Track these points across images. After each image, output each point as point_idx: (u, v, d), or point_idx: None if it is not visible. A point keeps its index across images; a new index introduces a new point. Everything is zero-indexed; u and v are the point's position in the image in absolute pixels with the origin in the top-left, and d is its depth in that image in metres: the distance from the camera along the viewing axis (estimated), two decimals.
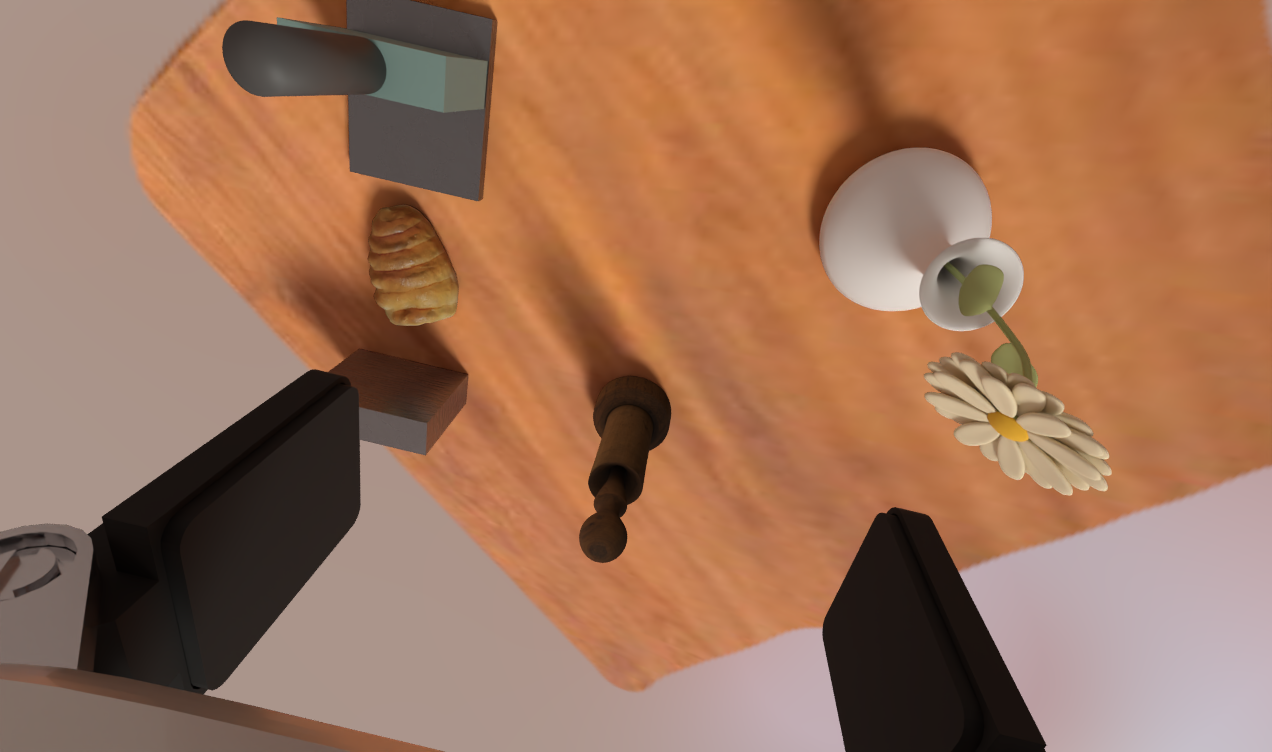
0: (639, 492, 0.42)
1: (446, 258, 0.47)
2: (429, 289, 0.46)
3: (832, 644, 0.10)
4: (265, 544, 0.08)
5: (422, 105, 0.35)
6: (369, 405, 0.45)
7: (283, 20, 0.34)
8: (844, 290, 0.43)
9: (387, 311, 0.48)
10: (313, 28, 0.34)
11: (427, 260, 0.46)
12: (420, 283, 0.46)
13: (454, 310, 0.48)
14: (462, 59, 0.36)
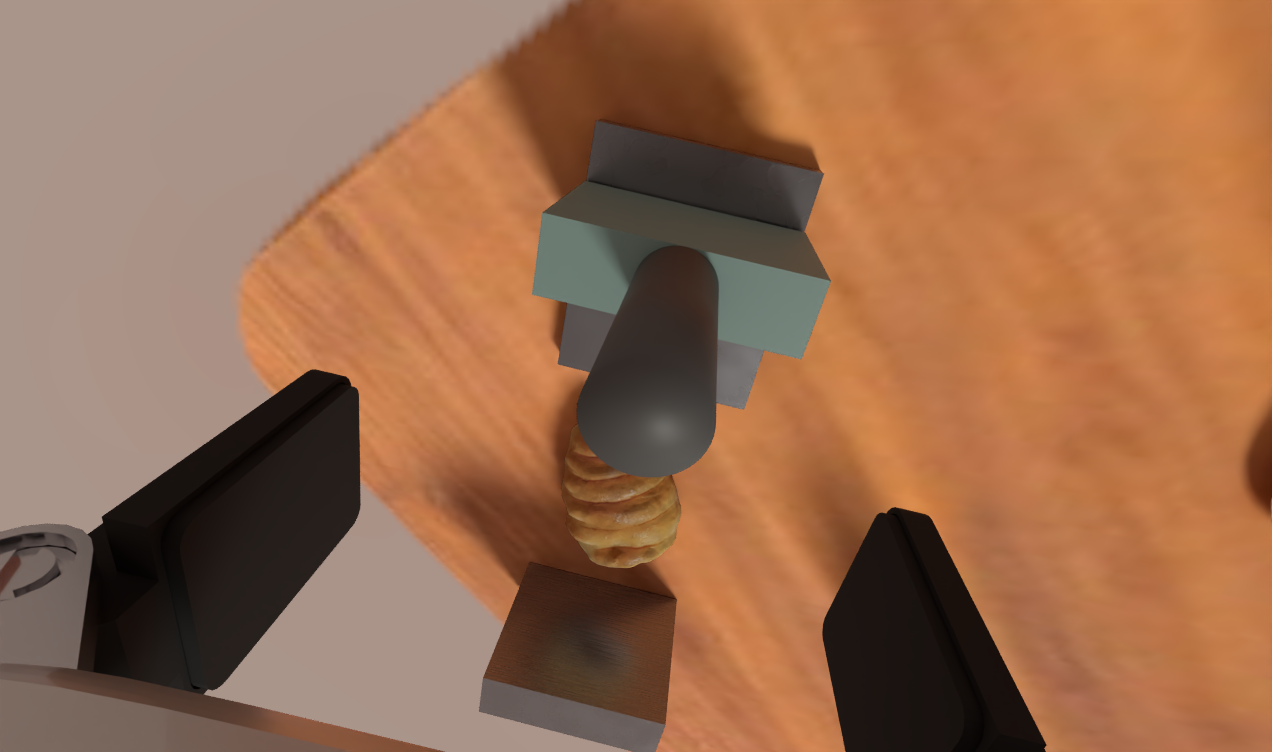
0: None
1: (671, 475, 0.33)
2: (652, 523, 0.33)
3: (832, 644, 0.10)
4: (265, 544, 0.08)
5: (767, 347, 0.21)
6: (579, 692, 0.32)
7: (553, 217, 0.20)
8: None
9: (584, 544, 0.34)
10: (603, 231, 0.20)
11: (651, 486, 0.32)
12: (641, 518, 0.32)
13: (674, 538, 0.35)
14: (819, 262, 0.22)
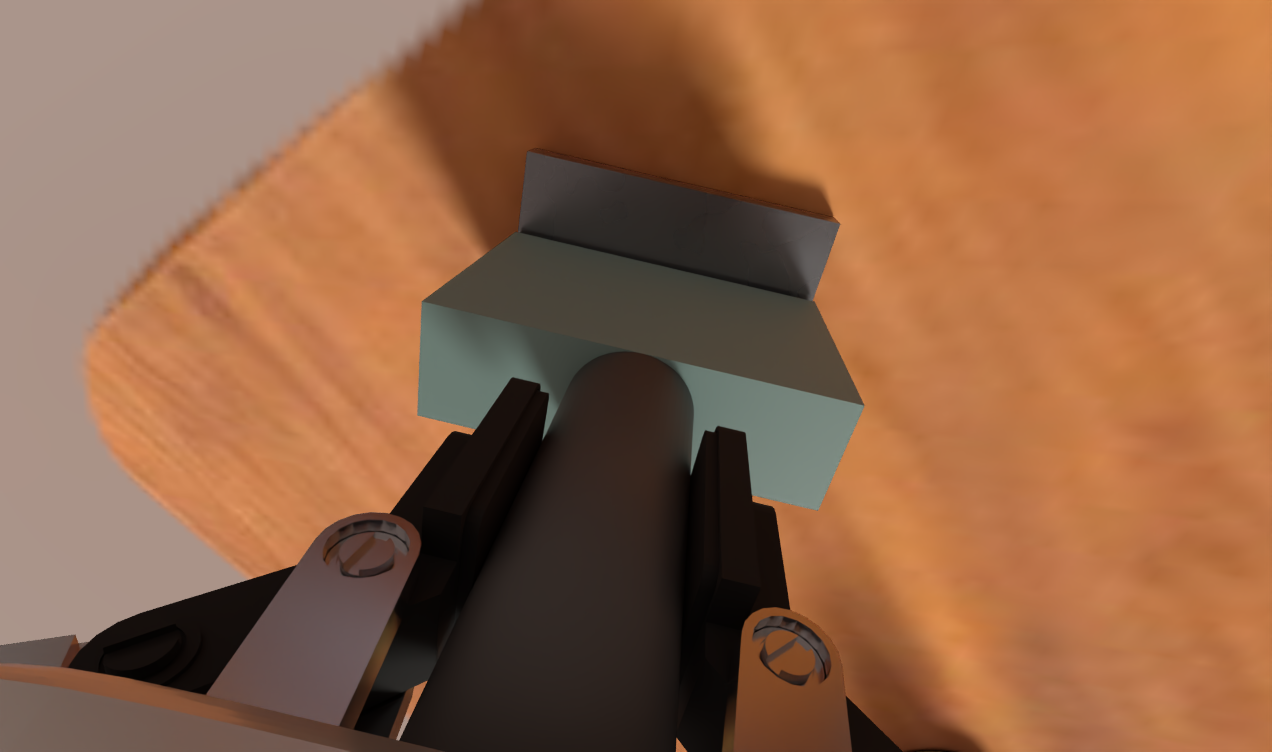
0: None
1: None
2: None
3: None
4: None
5: (767, 493, 0.14)
6: None
7: (438, 308, 0.13)
8: None
9: None
10: (516, 329, 0.13)
11: None
12: None
13: None
14: None
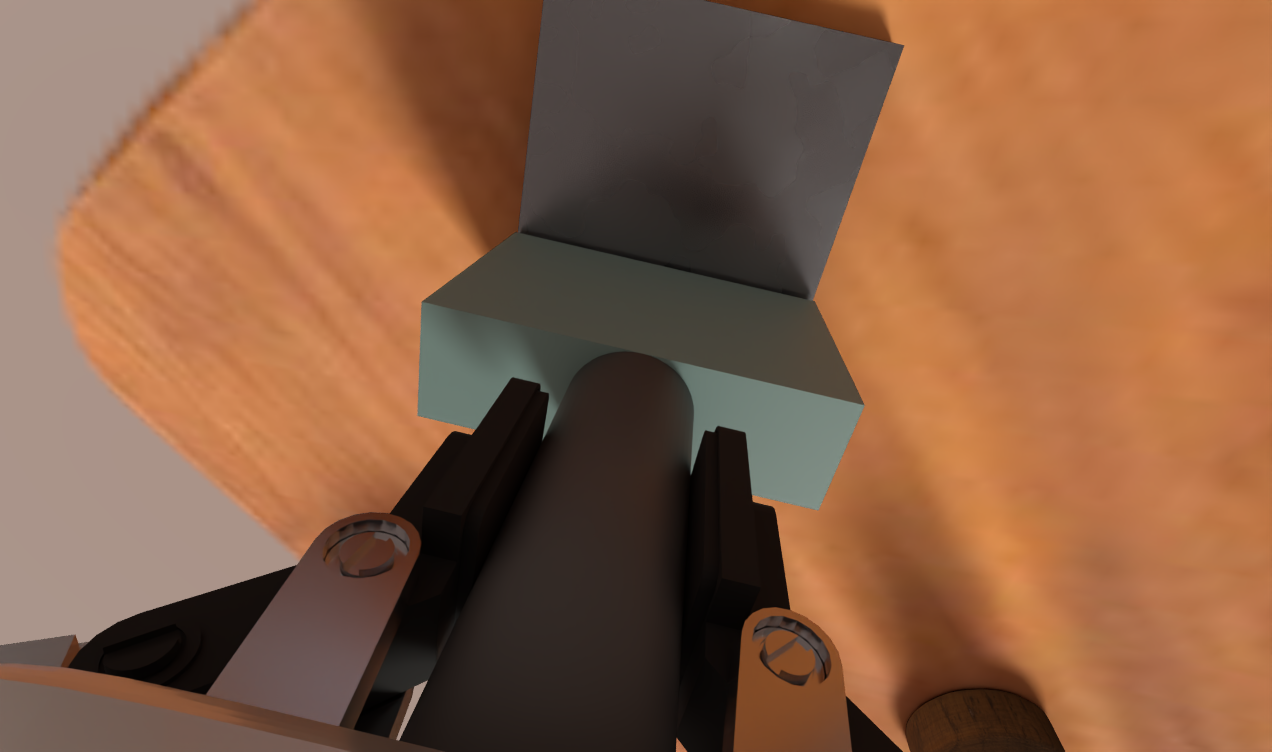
0: None
1: None
2: None
3: None
4: None
5: (768, 493, 0.14)
6: None
7: (438, 309, 0.13)
8: None
9: None
10: (516, 329, 0.13)
11: None
12: None
13: None
14: None
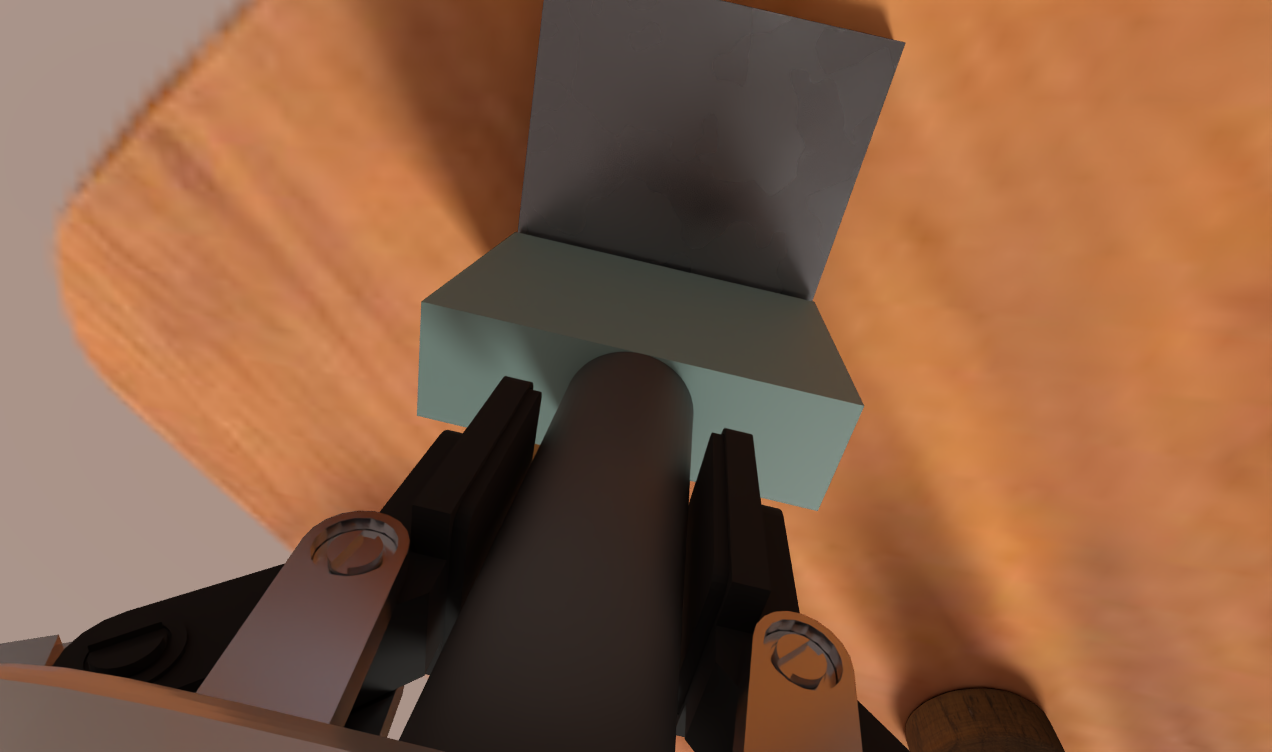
0: None
1: None
2: None
3: None
4: (492, 531, 0.09)
5: (767, 494, 0.14)
6: None
7: (438, 308, 0.13)
8: None
9: None
10: (515, 329, 0.13)
11: None
12: None
13: None
14: None
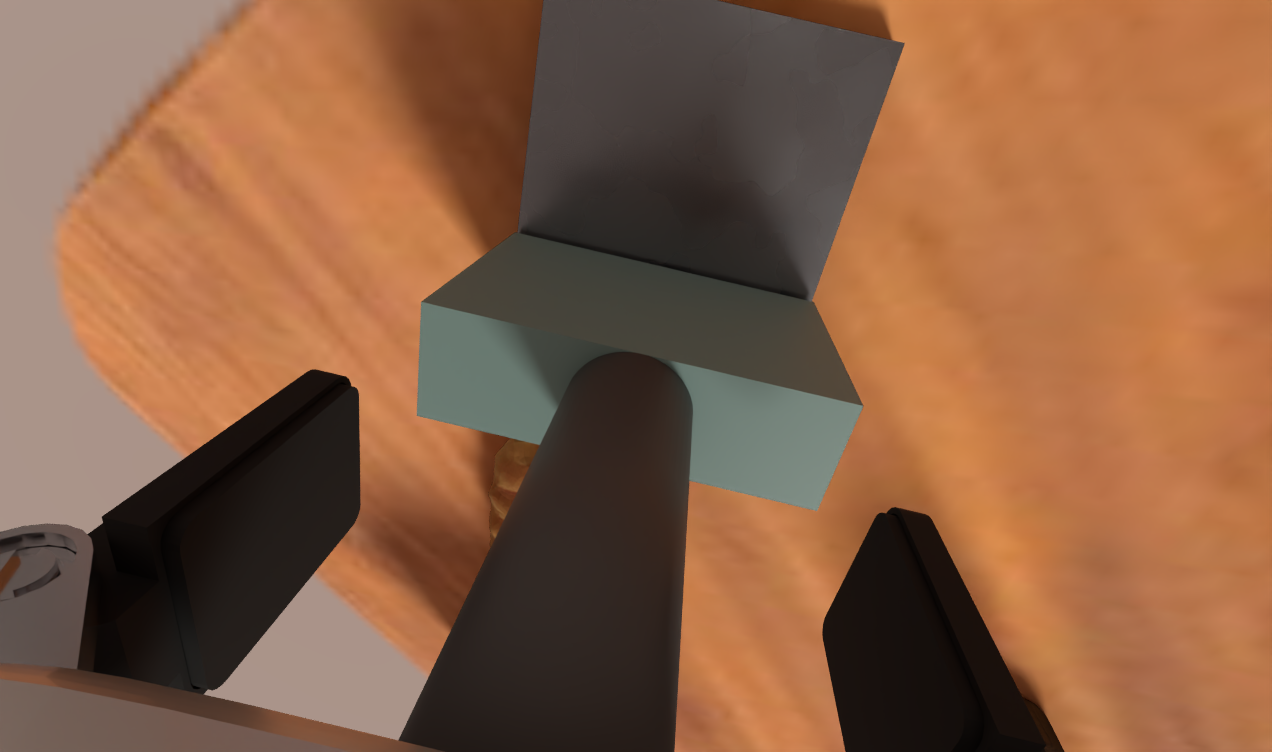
0: None
1: None
2: None
3: (832, 644, 0.10)
4: (265, 544, 0.08)
5: (766, 494, 0.14)
6: None
7: (438, 309, 0.13)
8: None
9: None
10: (515, 329, 0.13)
11: None
12: None
13: None
14: None
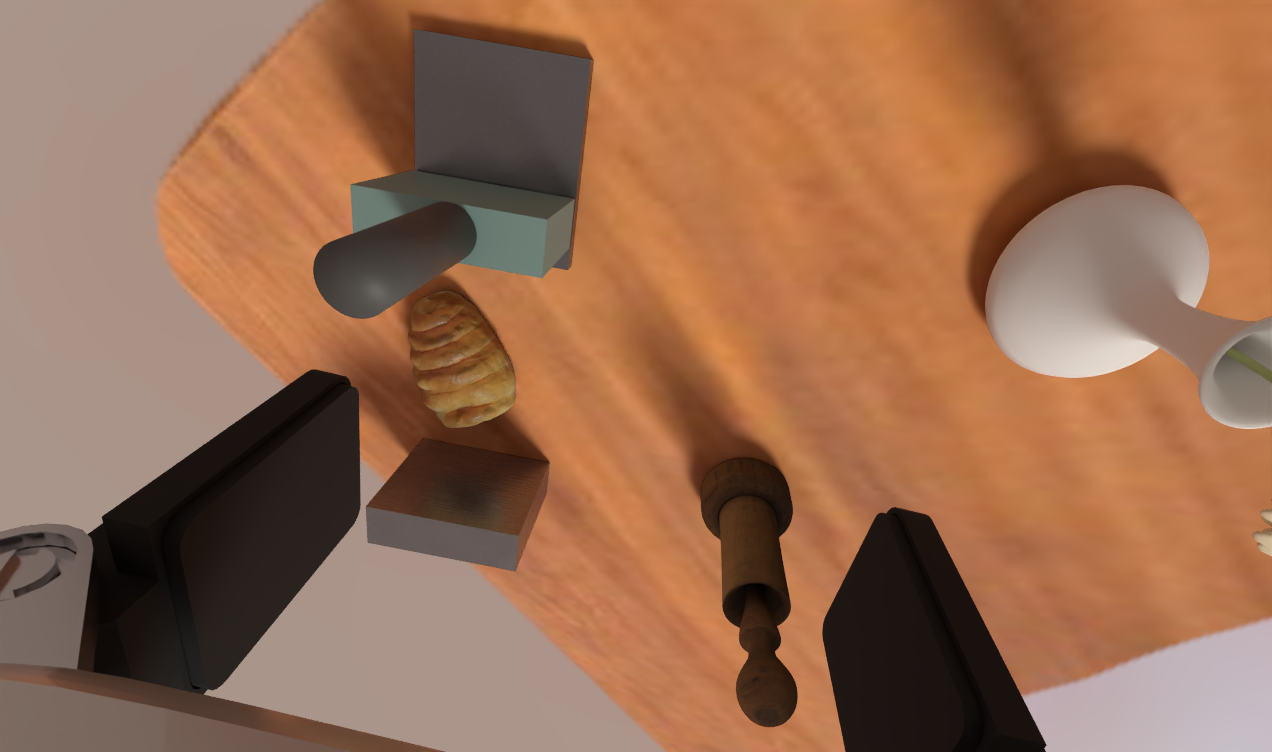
0: (786, 615, 0.35)
1: (498, 344, 0.40)
2: (484, 382, 0.40)
3: (832, 644, 0.10)
4: (265, 544, 0.08)
5: (517, 271, 0.30)
6: (448, 515, 0.38)
7: (358, 187, 0.29)
8: (1017, 356, 0.35)
9: (438, 413, 0.41)
10: (392, 194, 0.29)
11: (477, 350, 0.39)
12: (472, 377, 0.39)
13: (513, 401, 0.42)
14: (558, 212, 0.31)
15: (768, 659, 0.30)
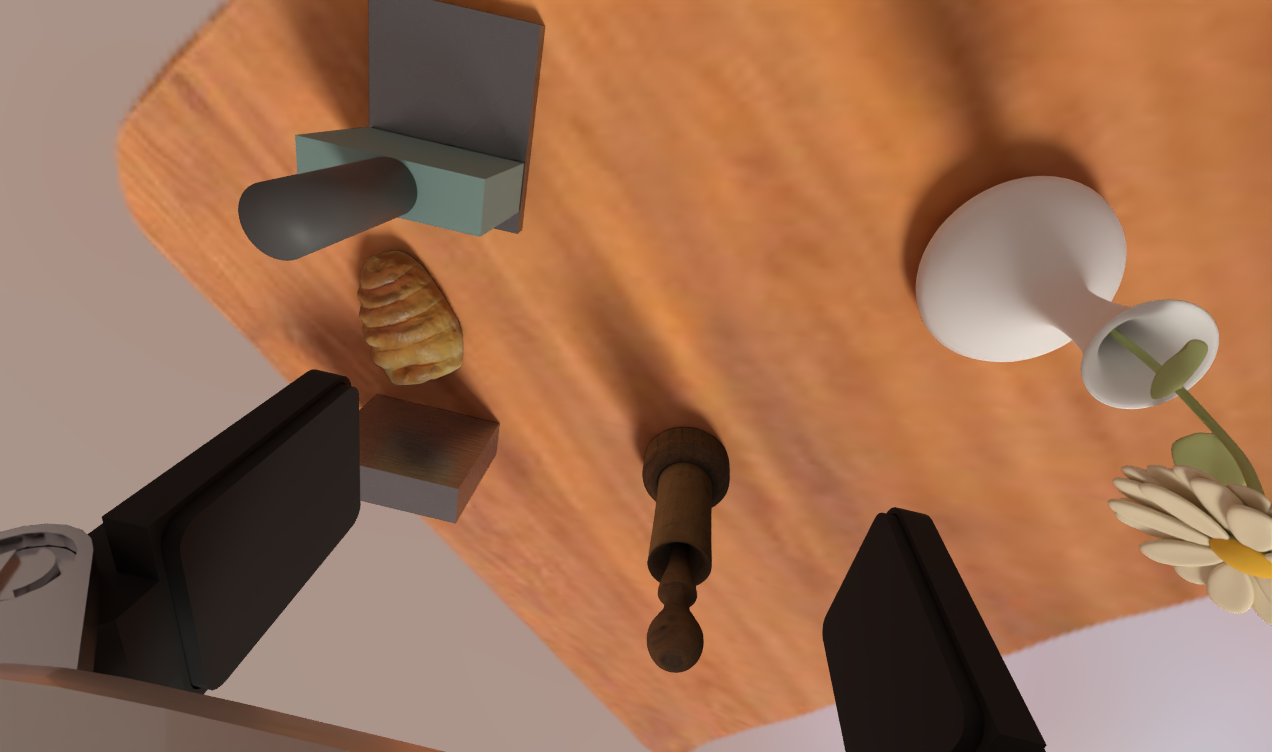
0: (707, 574, 0.36)
1: (445, 305, 0.42)
2: (430, 342, 0.41)
3: (832, 644, 0.10)
4: (265, 544, 0.08)
5: (456, 228, 0.31)
6: (391, 467, 0.39)
7: (302, 138, 0.30)
8: (943, 338, 0.37)
9: (387, 370, 0.43)
10: (336, 147, 0.30)
11: (424, 310, 0.40)
12: (418, 336, 0.40)
13: (460, 361, 0.43)
14: (500, 174, 0.32)
15: (679, 610, 0.32)
